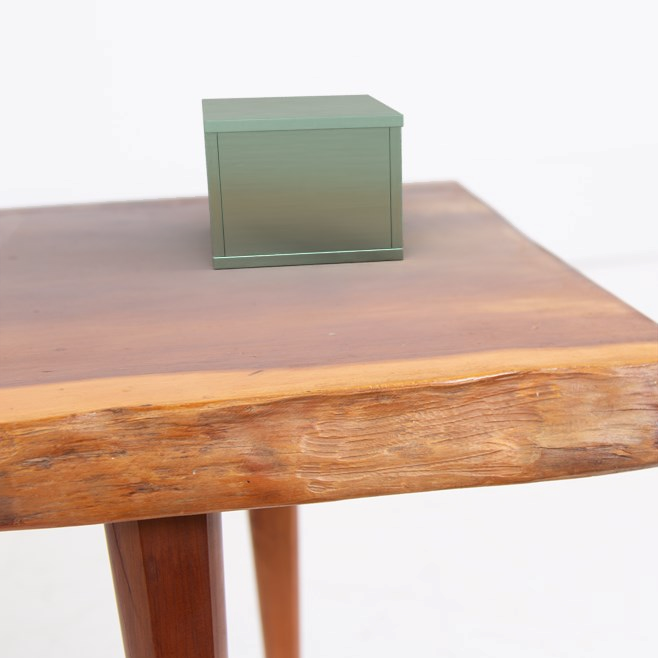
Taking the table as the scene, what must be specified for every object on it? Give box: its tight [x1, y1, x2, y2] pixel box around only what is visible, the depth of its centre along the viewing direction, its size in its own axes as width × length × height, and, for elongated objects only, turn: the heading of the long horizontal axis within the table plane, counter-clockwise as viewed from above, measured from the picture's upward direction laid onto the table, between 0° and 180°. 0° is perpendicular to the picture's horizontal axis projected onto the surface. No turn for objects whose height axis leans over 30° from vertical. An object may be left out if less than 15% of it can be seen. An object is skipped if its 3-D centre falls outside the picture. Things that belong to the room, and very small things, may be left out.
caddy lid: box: [201, 94, 405, 134], centre depth 78 cm, size 15×13×1 cm
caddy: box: [202, 125, 404, 270], centre depth 80 cm, size 15×13×9 cm
